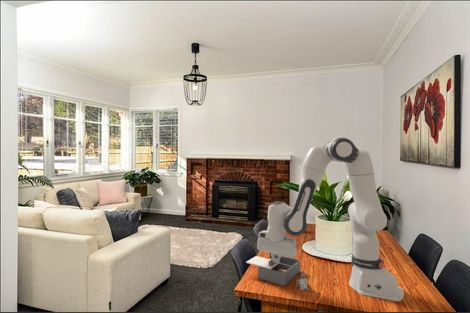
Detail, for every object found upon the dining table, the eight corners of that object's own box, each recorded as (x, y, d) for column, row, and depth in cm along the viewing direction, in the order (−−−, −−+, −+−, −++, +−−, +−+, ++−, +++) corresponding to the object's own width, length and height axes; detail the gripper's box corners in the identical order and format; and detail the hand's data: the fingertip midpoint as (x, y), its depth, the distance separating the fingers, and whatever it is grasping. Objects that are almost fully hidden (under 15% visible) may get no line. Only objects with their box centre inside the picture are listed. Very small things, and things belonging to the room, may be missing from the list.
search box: (300, 271, 145) (300, 260, 145) (284, 286, 128) (284, 273, 128) (276, 265, 153) (276, 254, 153) (258, 278, 136) (258, 266, 136)
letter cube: (287, 278, 135) (287, 270, 135) (284, 281, 131) (284, 273, 131) (280, 276, 137) (280, 268, 137) (276, 279, 134) (276, 271, 134)
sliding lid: (279, 262, 140) (279, 257, 140) (270, 269, 132) (270, 264, 132) (256, 256, 148) (256, 252, 148) (246, 262, 140) (246, 257, 140)
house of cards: (288, 281, 134) (288, 265, 134) (307, 282, 133) (307, 266, 133) (289, 290, 126) (289, 273, 126) (308, 291, 124) (308, 274, 124)
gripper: (299, 236, 132) (298, 265, 133) (261, 230, 144) (261, 256, 144) (293, 240, 127) (293, 269, 127) (255, 232, 139) (255, 260, 139)
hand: (276, 262), depth 136 cm, fingers closed
